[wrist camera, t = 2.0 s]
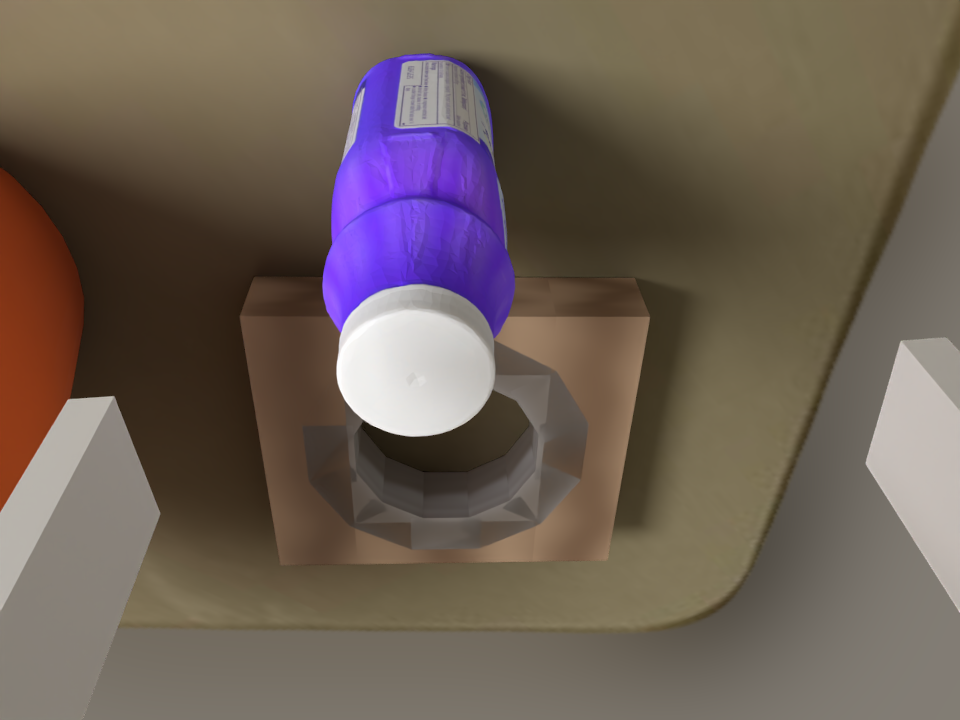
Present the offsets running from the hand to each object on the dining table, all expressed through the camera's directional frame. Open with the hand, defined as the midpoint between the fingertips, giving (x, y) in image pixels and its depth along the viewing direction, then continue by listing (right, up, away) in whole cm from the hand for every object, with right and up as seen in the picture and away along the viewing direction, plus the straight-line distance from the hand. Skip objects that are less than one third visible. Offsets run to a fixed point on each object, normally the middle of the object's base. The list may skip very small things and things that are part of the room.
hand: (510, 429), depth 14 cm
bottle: (-3, +11, +21) cm, 24 cm away
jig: (-2, -1, +29) cm, 29 cm away
